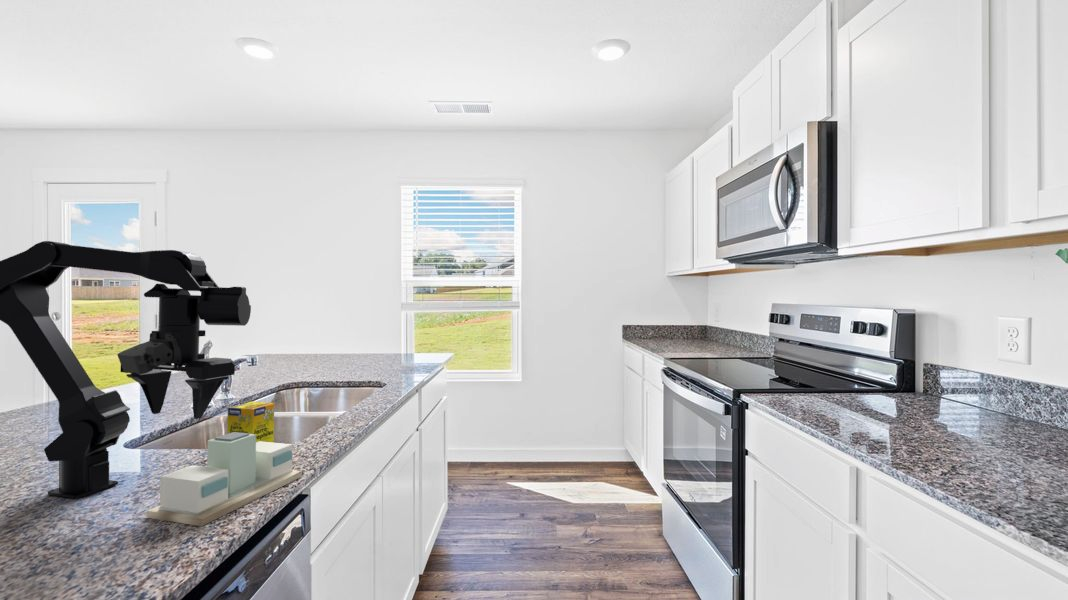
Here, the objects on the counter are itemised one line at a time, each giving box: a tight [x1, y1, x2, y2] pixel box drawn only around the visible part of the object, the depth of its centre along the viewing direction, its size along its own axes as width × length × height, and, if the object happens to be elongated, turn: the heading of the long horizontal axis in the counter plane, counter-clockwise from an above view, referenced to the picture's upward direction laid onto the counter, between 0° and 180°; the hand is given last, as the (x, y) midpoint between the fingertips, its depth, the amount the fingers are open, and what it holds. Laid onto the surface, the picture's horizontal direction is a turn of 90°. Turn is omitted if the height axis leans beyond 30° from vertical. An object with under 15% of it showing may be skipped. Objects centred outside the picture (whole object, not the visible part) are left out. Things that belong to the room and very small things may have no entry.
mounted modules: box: [159, 441, 293, 513], centre depth 80 cm, size 7×18×4 cm, turn 166°
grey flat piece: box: [158, 468, 294, 516], centre depth 80 cm, size 7×19×1 cm, turn 166°
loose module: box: [206, 432, 256, 494], centre depth 80 cm, size 4×5×8 cm
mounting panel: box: [146, 469, 303, 527], centre depth 80 cm, size 10×20×1 cm, turn 166°
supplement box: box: [226, 401, 275, 443], centre depth 97 cm, size 6×6×11 cm
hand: (176, 415), depth 84 cm, fingers open, 9 cm apart
